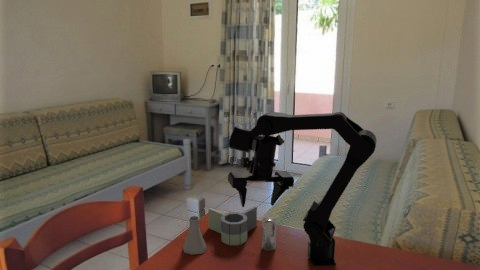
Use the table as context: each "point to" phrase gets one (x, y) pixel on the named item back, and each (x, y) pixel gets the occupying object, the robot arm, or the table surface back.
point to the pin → (268, 233)
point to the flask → (194, 238)
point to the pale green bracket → (227, 239)
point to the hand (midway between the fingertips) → (257, 205)
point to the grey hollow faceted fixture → (239, 221)
